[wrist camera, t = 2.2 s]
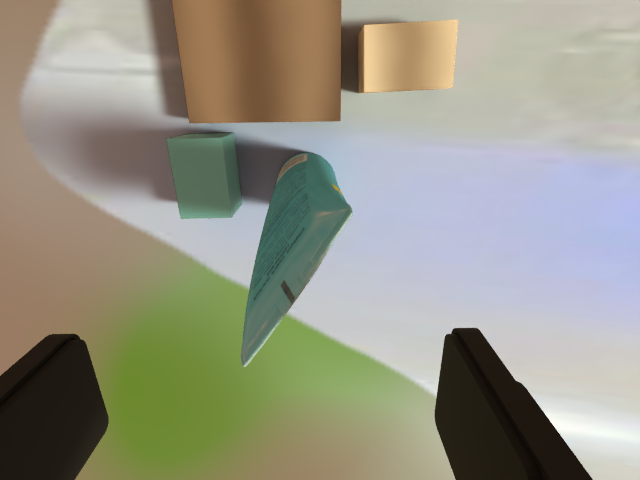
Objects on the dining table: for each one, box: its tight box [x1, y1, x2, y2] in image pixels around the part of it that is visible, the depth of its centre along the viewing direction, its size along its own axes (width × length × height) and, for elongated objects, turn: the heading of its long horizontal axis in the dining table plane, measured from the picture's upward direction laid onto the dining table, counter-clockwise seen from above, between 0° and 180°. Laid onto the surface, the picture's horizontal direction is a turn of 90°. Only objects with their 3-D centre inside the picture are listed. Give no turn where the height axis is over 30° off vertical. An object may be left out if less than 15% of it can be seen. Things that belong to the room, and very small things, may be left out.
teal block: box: [166, 133, 242, 219], centre depth 28 cm, size 6×4×4 cm, turn 2°
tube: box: [241, 153, 353, 367], centre depth 21 cm, size 7×5×19 cm, turn 152°
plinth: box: [172, 0, 341, 123], centre depth 25 cm, size 11×11×3 cm
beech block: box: [358, 20, 458, 93], centre depth 25 cm, size 6×4×4 cm, turn 93°
